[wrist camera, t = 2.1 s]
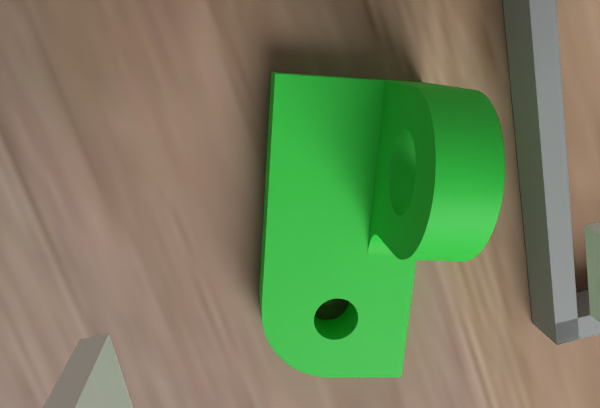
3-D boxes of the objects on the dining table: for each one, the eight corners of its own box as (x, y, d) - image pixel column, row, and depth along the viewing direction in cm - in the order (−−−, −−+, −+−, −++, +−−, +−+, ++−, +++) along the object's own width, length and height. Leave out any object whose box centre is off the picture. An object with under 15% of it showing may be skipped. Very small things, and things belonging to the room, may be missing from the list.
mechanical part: (270, 71, 22) (295, 81, 14) (420, 81, 23) (518, 96, 15) (255, 353, 25) (268, 485, 17) (388, 352, 26) (456, 479, 18)
